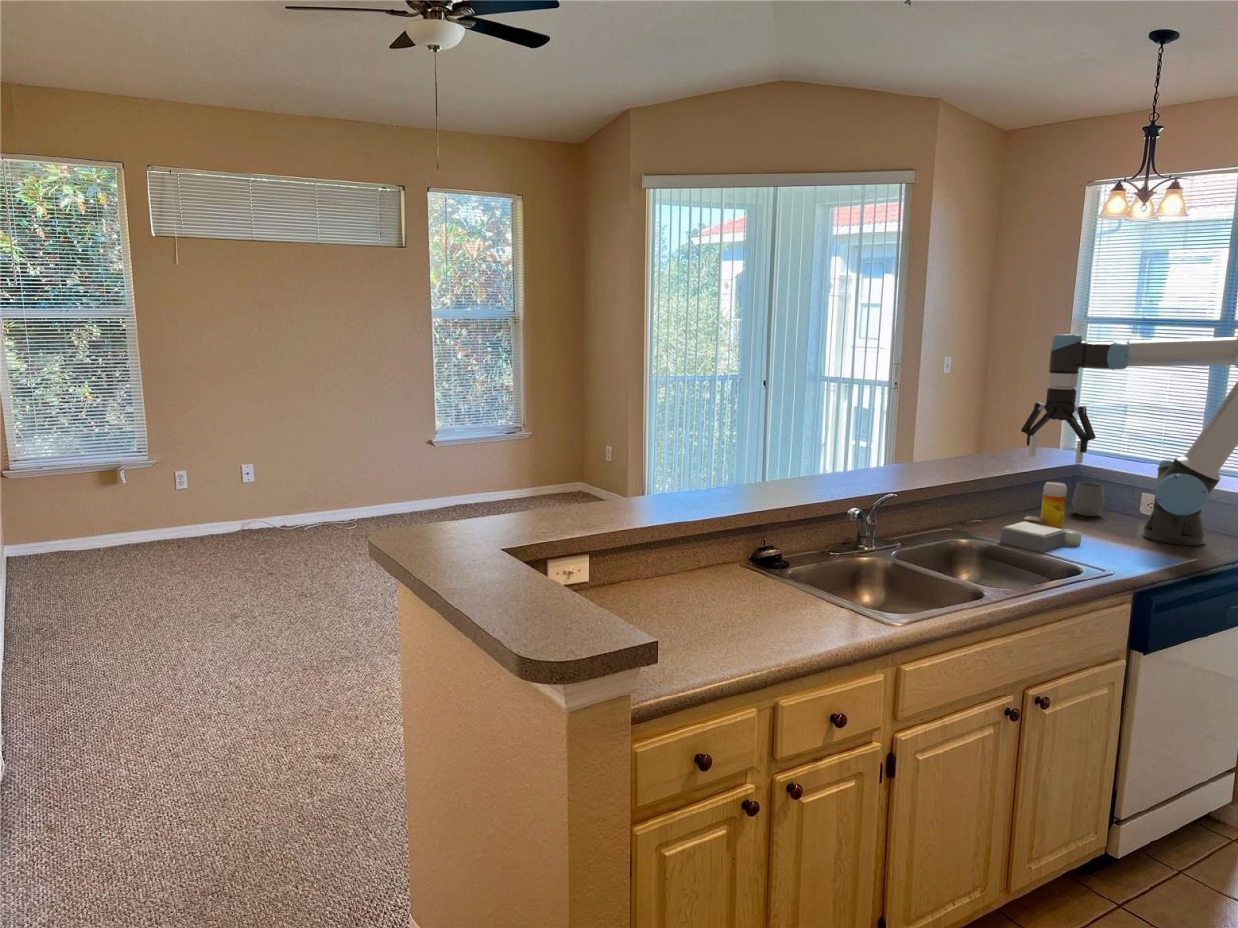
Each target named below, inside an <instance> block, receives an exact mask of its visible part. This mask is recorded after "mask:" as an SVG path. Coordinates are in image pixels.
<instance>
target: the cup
mask: <svg viewBox="0 0 1238 928" xmlns="http://www.w3.org/2000/svg"><path fill="white" fill-rule="evenodd" d="M1071 504H1072V507H1073V509H1074V511H1075V513H1076V514H1078V515H1079V516H1083V517H1084V516H1085V517H1098V515H1100V513H1101V512H1102V511H1103V509H1104V507H1105V489H1104V485H1102V484H1100V483H1096V482H1087V481H1086V482H1085V481H1084V482H1083V481H1082V482H1077V483H1076V486H1075V489H1074V492H1073V496H1072V499H1071Z"/></svg>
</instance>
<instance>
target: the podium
mask: <svg viewBox="0 0 1238 928" xmlns="http://www.w3.org/2000/svg"><path fill="white" fill-rule="evenodd" d="M1063 529H1064V528H1062V529H1058V528H1053V527H1048V526H1044V525H1039V524H1034V523H1029V522H1023V521H1022V522H1017V523H1014V524H1010V525H1006V526H1004V527H1003V528H1002V527H1001V532H1000V539H999V540H1000V543H1002V544H1006V545H1011V546H1014V547H1019V548H1023V549H1027V550H1032V551H1036V552H1040V553H1044V552H1047V551H1051V550H1053V549H1054V550H1055V549H1058V548H1061V547H1063V546H1065V545H1064V538H1065V532H1064V531H1063Z"/></svg>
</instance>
